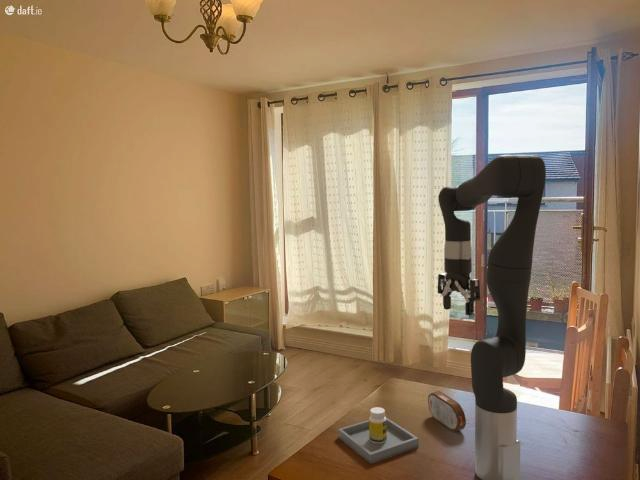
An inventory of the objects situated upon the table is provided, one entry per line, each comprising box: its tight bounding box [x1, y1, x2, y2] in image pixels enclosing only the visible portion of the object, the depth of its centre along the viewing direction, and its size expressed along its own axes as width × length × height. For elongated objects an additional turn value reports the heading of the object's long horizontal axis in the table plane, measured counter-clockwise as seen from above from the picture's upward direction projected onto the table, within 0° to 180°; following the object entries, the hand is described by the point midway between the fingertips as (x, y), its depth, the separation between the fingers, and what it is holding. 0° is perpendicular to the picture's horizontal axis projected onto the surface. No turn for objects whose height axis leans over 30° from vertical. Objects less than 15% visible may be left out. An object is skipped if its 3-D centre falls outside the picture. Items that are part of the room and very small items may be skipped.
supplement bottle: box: [368, 406, 387, 444], centre depth 129 cm, size 5×5×8 cm
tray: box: [337, 417, 420, 465], centre depth 129 cm, size 16×16×2 cm
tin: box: [427, 390, 467, 432], centre depth 138 cm, size 15×3×8 cm, turn 22°
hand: (458, 311), depth 137 cm, fingers open, 8 cm apart
